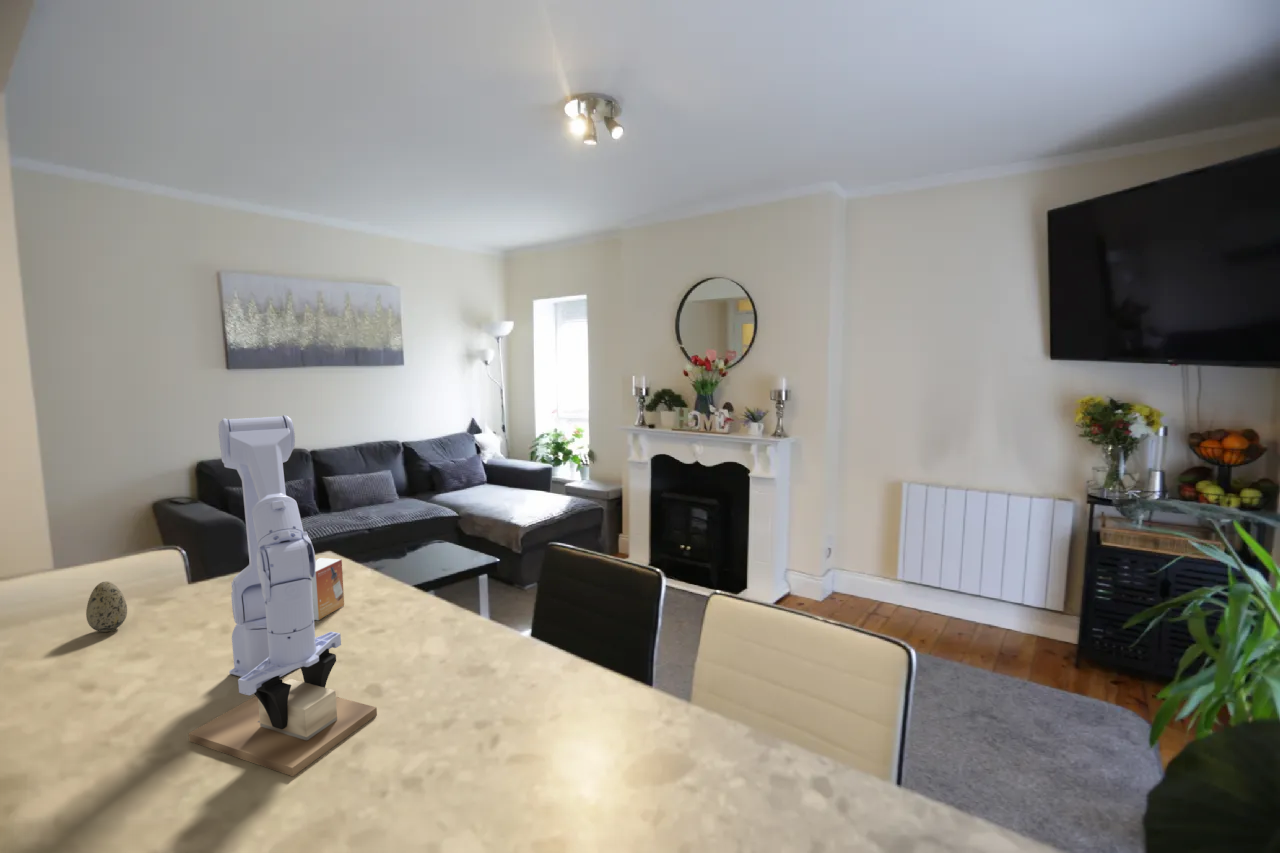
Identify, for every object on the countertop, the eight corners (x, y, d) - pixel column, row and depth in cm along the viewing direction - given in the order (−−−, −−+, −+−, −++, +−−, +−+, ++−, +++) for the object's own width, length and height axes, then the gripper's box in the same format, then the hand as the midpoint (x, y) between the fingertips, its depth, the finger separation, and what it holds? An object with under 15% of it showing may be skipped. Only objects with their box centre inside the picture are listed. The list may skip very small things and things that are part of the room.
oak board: (189, 741, 82) (188, 733, 82) (281, 688, 95) (280, 681, 95) (293, 776, 75) (292, 767, 75) (376, 714, 88) (376, 707, 88)
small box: (318, 621, 120) (315, 571, 119) (294, 619, 121) (291, 569, 120) (345, 605, 128) (342, 558, 126) (323, 603, 129) (320, 557, 127)
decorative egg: (88, 630, 116) (83, 581, 115) (128, 621, 120) (123, 574, 119) (88, 640, 112) (82, 590, 111) (129, 631, 116) (124, 582, 115)
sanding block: (260, 726, 83) (257, 696, 83) (292, 706, 88) (289, 678, 88) (307, 740, 80) (304, 709, 80) (337, 719, 85) (335, 690, 84)
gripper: (262, 654, 74) (270, 753, 76) (354, 608, 88) (359, 693, 89) (223, 644, 77) (232, 741, 78) (319, 601, 90) (324, 684, 92)
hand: (297, 715), depth 84 cm, fingers closed on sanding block, 5 cm apart
